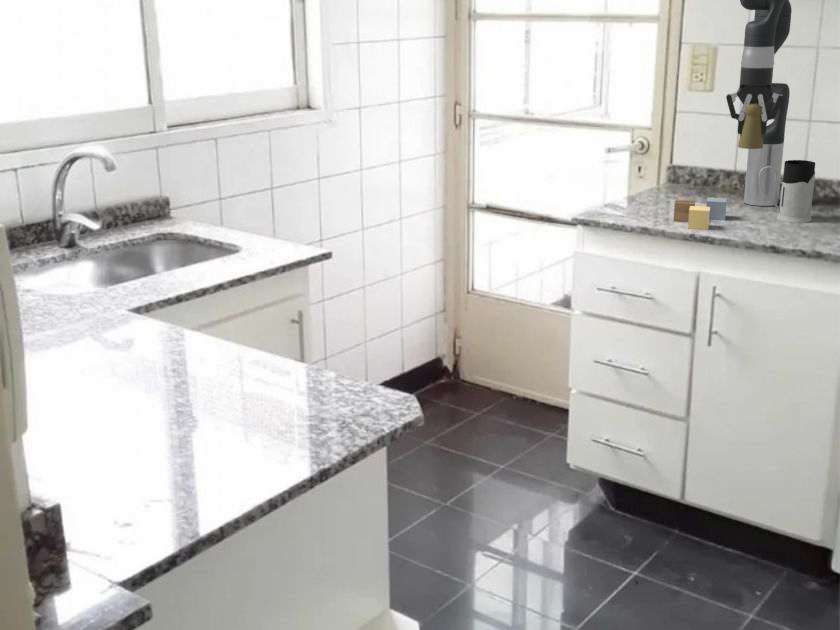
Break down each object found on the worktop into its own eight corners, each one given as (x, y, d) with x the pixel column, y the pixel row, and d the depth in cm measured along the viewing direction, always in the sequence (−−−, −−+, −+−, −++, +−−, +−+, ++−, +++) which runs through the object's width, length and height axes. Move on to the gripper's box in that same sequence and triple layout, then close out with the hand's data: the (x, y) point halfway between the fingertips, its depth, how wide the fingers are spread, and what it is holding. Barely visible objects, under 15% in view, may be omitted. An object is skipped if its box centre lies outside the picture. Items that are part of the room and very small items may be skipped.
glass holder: (814, 223, 258) (820, 165, 253) (756, 221, 261) (761, 164, 256) (809, 216, 266) (815, 159, 261) (753, 214, 269) (758, 158, 264)
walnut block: (674, 217, 267) (675, 199, 266) (693, 218, 266) (695, 200, 264) (673, 221, 263) (674, 202, 261) (693, 222, 261) (694, 203, 260)
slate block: (705, 215, 269) (707, 197, 267) (725, 216, 267) (726, 198, 266) (705, 219, 264) (706, 201, 263) (725, 220, 263) (726, 202, 261)
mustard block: (688, 224, 259) (690, 205, 257) (708, 226, 257) (710, 206, 256) (687, 229, 254) (689, 209, 253) (708, 230, 253) (709, 210, 251)
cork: (760, 145, 252) (764, 100, 248) (765, 148, 246) (769, 103, 243) (735, 145, 252) (739, 101, 249) (740, 148, 247) (744, 103, 243)
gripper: (787, 64, 245) (780, 134, 250) (726, 64, 248) (721, 133, 254) (789, 66, 238) (782, 139, 243) (726, 66, 242) (721, 137, 247)
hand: (751, 135), depth 248 cm, fingers closed on cork, 4 cm apart
